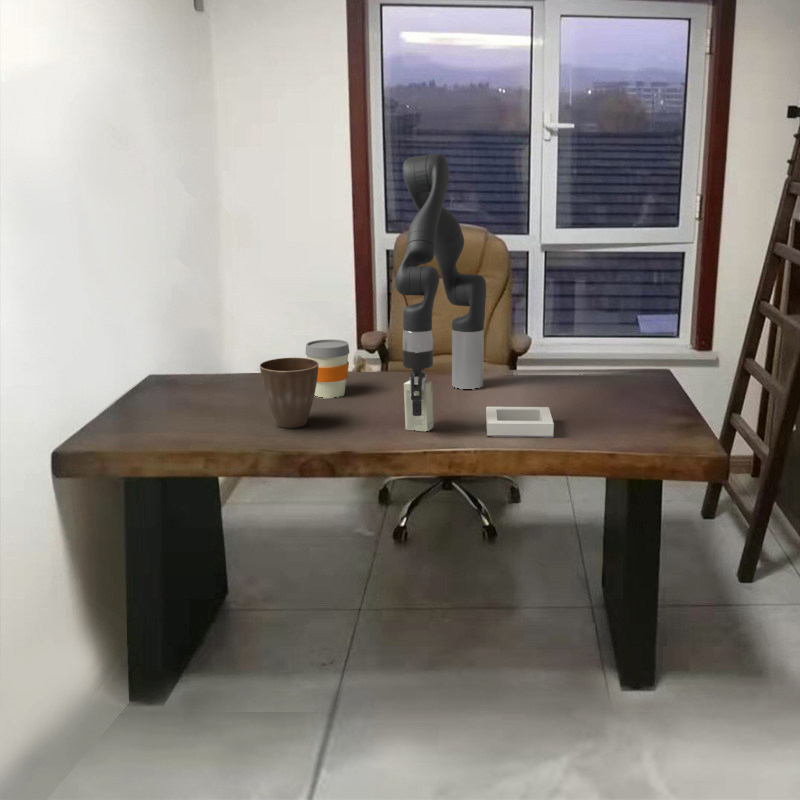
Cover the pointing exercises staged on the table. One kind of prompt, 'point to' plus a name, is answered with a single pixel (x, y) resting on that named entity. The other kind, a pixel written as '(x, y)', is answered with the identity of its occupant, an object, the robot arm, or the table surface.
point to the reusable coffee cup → (329, 366)
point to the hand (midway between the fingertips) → (418, 410)
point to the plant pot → (290, 389)
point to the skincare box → (426, 417)
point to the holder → (519, 422)
